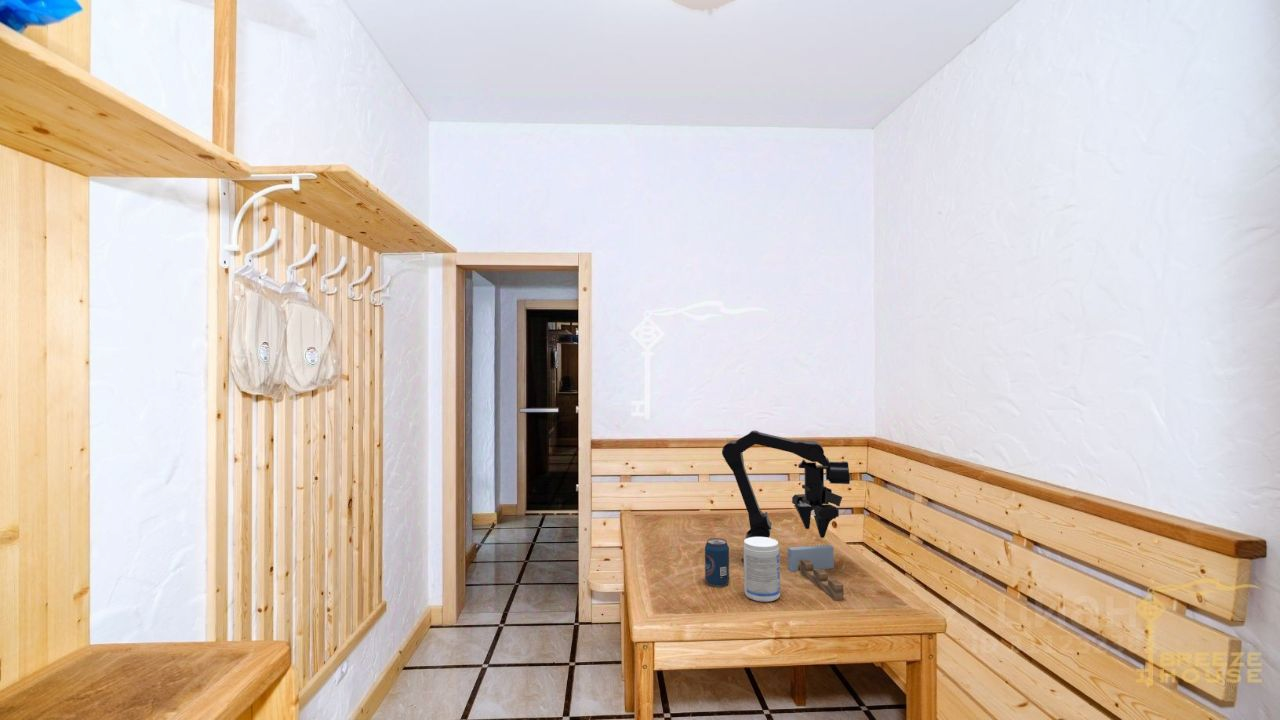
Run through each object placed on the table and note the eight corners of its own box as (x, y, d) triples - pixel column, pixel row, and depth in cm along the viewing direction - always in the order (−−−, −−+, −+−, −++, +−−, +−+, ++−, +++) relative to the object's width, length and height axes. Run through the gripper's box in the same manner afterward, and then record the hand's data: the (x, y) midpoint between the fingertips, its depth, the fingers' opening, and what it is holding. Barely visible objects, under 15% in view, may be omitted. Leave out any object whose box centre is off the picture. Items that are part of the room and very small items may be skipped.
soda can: (700, 580, 159) (700, 539, 159) (721, 576, 161) (720, 536, 162) (713, 589, 152) (712, 546, 153) (734, 585, 155) (733, 542, 155)
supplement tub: (786, 601, 144) (785, 545, 144) (753, 604, 142) (752, 548, 142) (769, 587, 154) (769, 534, 154) (738, 590, 151) (737, 537, 152)
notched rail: (843, 599, 145) (843, 584, 145) (836, 600, 144) (835, 585, 144) (807, 572, 164) (806, 559, 164) (800, 573, 164) (800, 559, 164)
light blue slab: (791, 571, 165) (791, 550, 165) (788, 568, 168) (787, 547, 168) (833, 568, 168) (833, 547, 168) (829, 565, 170) (829, 544, 170)
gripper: (854, 487, 161) (855, 540, 161) (822, 476, 179) (823, 523, 179) (820, 489, 159) (820, 543, 159) (791, 477, 177) (791, 525, 177)
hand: (814, 533), depth 168 cm, fingers open, 9 cm apart
